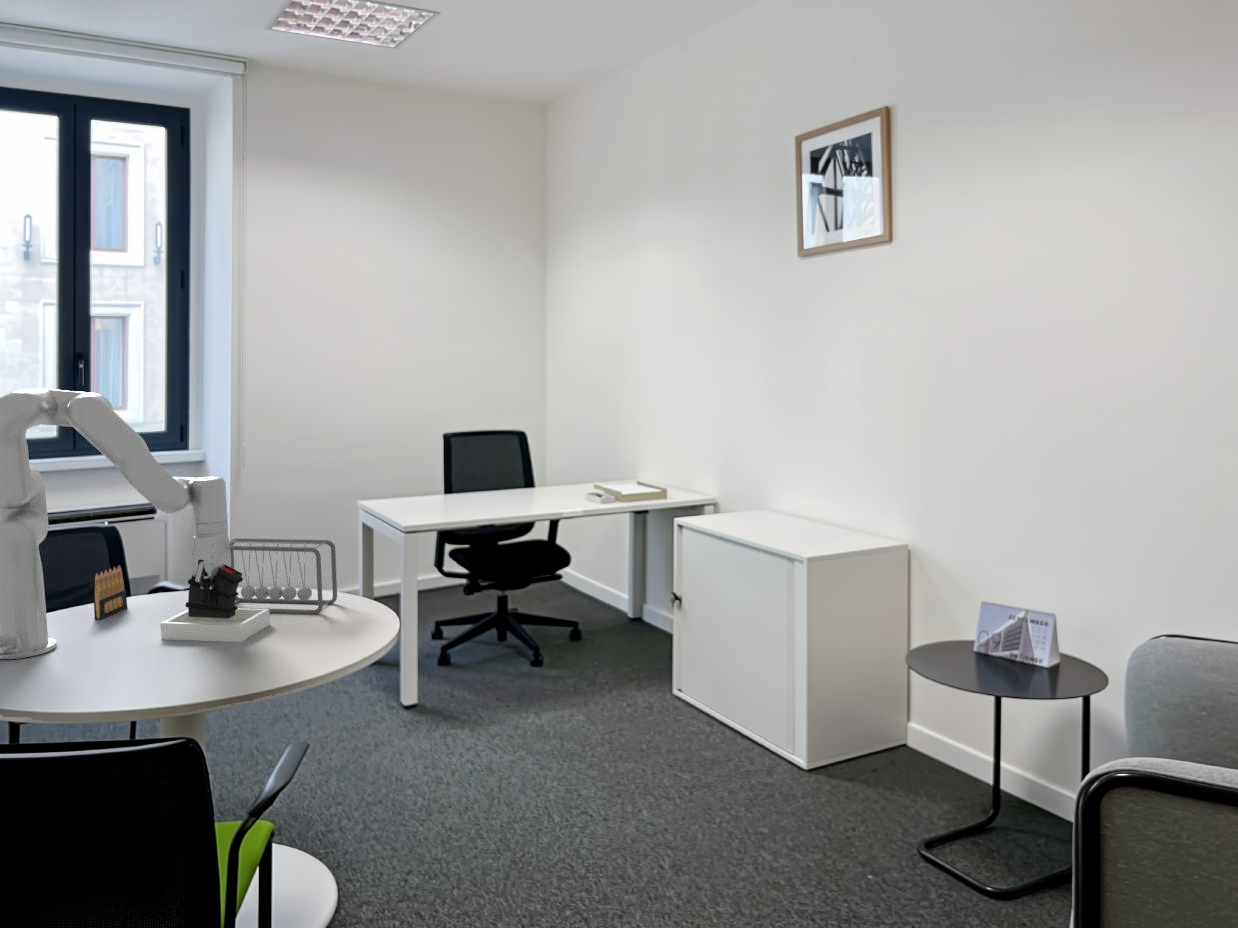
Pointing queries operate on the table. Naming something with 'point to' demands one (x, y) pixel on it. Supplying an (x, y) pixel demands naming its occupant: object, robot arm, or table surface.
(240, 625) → the parts tray
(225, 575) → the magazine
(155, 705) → the table surface
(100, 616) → the ammunition clip
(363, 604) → the table surface
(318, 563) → the newton's cradle
